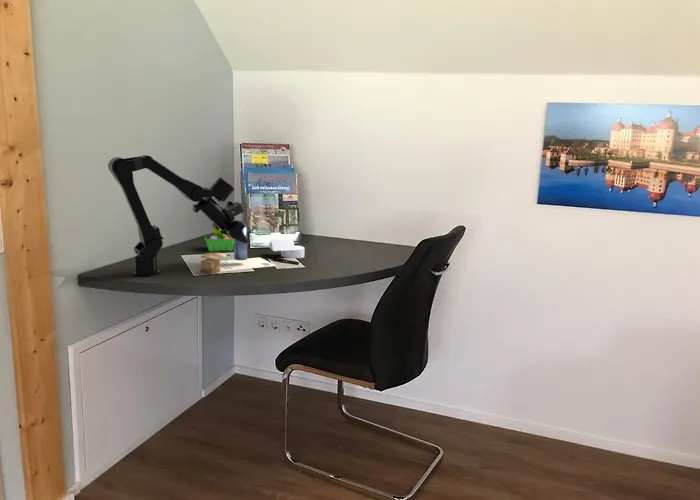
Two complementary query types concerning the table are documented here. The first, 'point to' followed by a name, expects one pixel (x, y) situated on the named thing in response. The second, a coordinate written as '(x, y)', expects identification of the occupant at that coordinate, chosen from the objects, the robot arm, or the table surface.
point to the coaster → (214, 255)
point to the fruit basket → (219, 241)
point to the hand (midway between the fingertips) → (244, 241)
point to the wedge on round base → (287, 248)
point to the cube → (210, 266)
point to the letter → (244, 264)
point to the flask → (240, 247)
